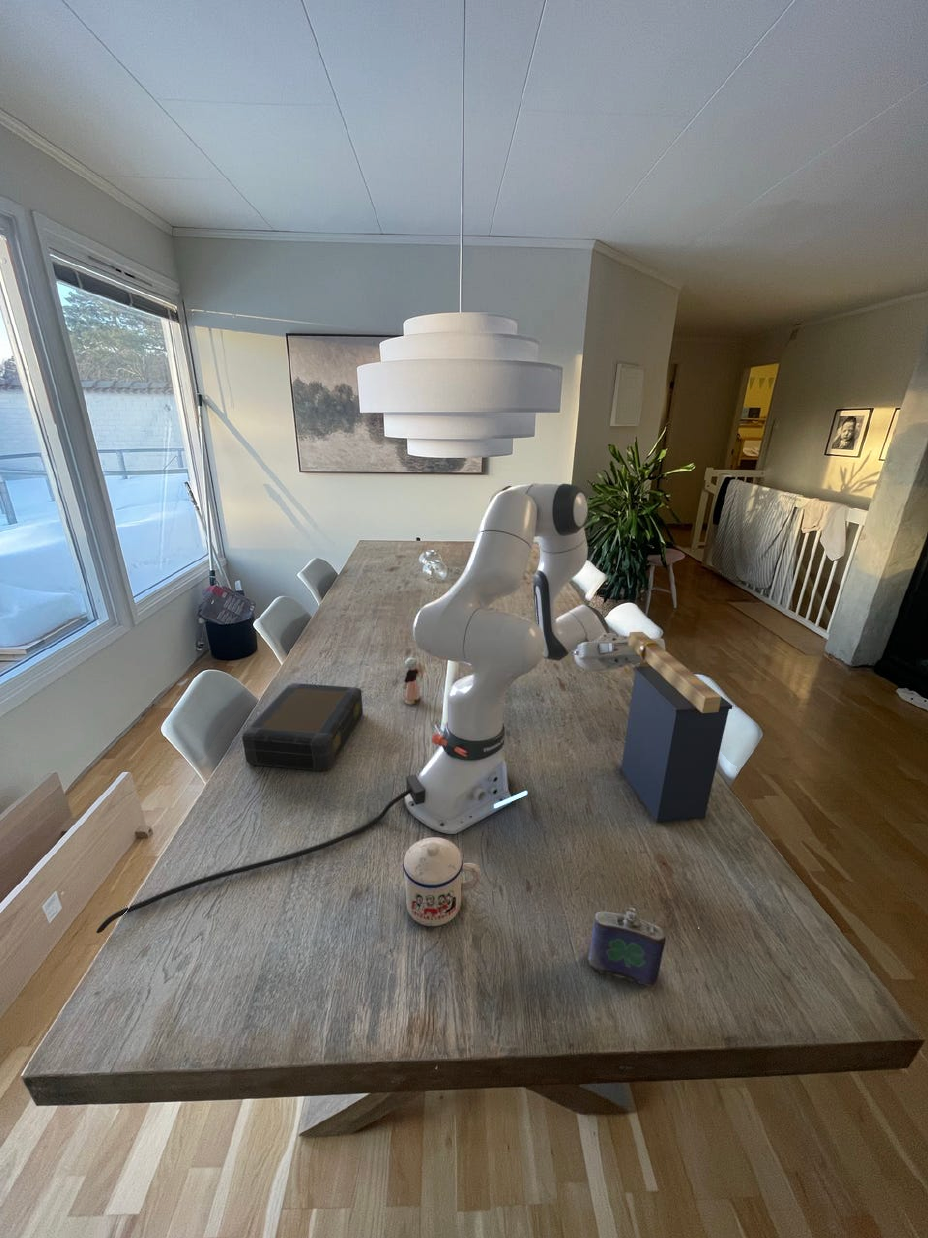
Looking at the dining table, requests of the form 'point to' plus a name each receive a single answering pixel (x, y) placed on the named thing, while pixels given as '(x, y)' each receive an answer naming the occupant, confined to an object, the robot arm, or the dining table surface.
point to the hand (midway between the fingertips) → (635, 645)
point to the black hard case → (304, 727)
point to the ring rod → (675, 673)
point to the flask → (626, 946)
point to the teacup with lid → (435, 880)
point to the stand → (671, 748)
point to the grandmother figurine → (411, 681)
